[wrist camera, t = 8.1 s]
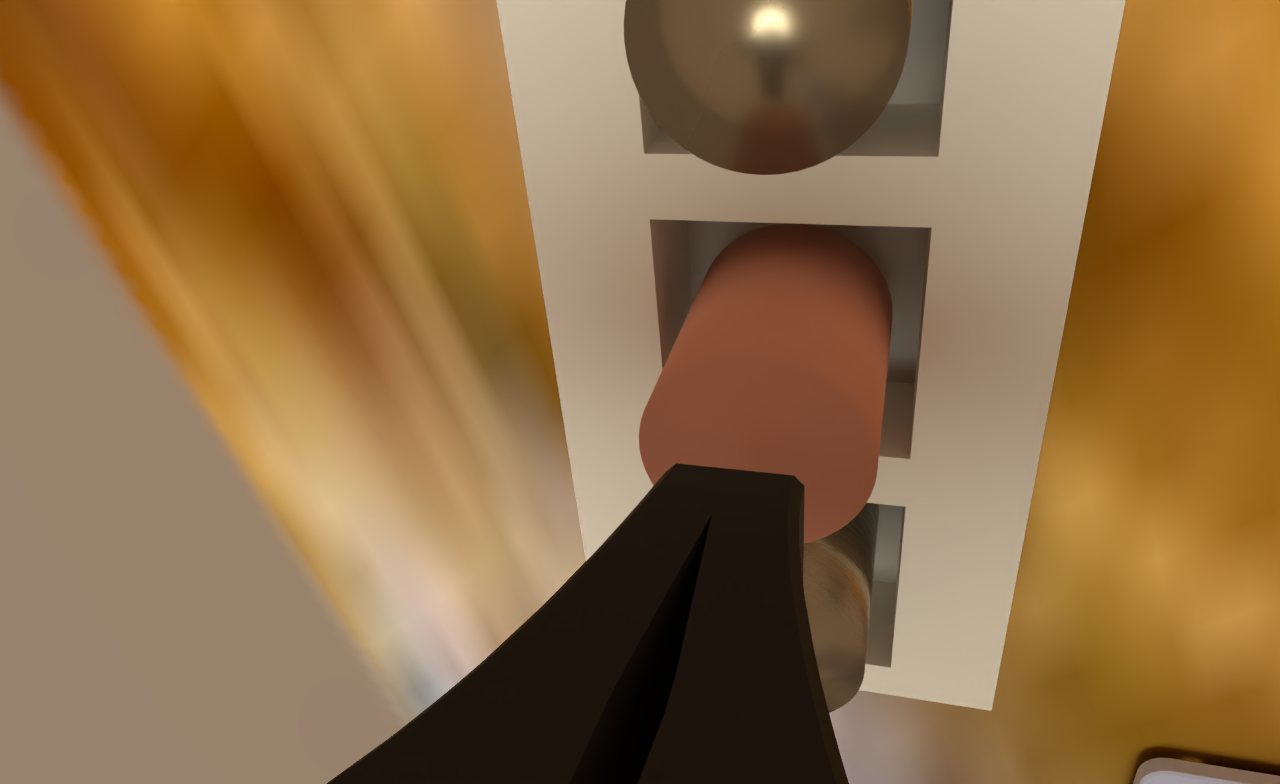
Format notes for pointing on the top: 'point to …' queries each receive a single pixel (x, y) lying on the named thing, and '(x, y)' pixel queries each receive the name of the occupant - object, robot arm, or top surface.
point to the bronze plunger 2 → (841, 603)
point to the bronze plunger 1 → (766, 75)
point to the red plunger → (780, 370)
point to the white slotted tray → (894, 239)
